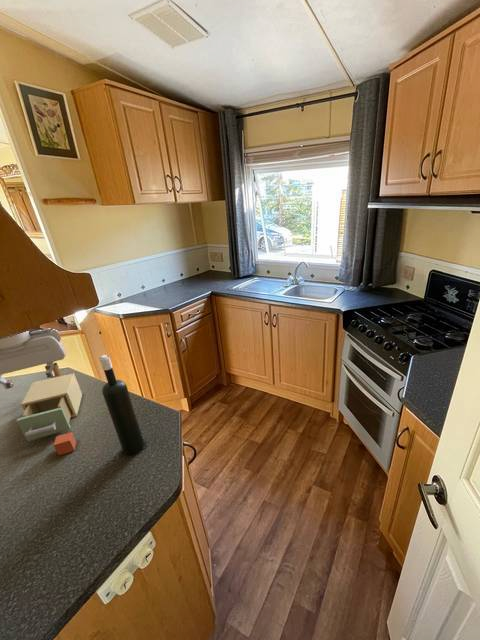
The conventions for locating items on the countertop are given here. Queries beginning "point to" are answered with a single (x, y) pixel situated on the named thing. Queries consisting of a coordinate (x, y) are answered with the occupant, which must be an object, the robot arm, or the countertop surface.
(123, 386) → the wine bottle
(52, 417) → the drawer
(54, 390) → the cabinet
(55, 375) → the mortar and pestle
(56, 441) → the block
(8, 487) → the countertop surface
